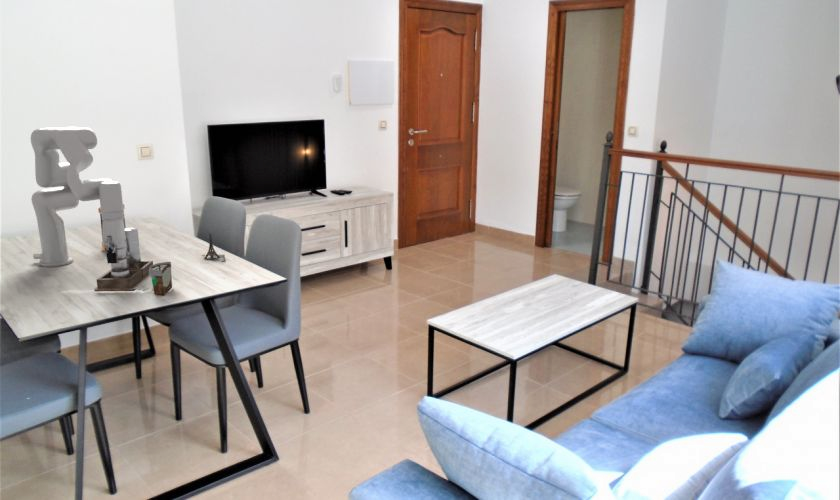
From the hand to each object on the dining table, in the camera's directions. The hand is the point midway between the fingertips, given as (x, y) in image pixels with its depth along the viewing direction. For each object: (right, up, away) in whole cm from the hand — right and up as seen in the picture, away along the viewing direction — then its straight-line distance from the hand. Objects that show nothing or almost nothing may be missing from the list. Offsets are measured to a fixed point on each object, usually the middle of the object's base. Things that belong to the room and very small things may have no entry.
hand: (117, 259), depth 240 cm
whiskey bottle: (-28, +4, +56) cm, 63 cm away
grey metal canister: (-1, -6, +15) cm, 16 cm away
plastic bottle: (0, -9, +3) cm, 10 cm away
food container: (+17, -12, -4) cm, 22 cm away
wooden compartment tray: (0, -8, +9) cm, 12 cm away
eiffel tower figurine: (+23, -1, +41) cm, 47 cm away
